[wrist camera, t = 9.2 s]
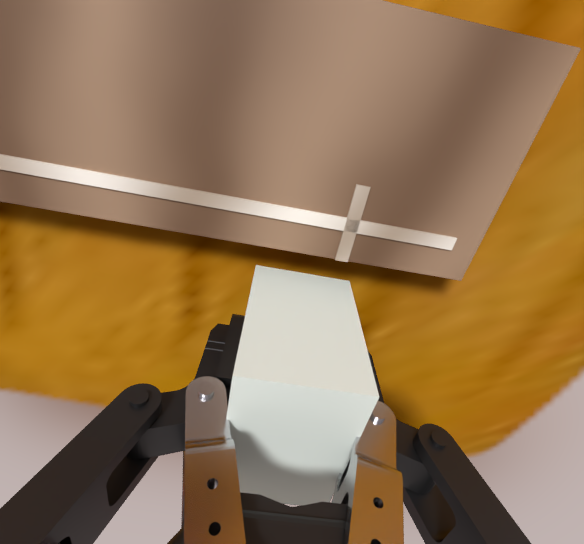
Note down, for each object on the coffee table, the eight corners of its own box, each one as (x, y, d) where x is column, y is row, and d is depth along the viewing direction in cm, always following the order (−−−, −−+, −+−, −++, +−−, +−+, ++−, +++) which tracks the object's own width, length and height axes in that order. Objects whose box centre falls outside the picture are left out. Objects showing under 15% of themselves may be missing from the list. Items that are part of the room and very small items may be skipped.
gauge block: (239, 369, 17) (214, 498, 12) (256, 265, 14) (232, 376, 9) (316, 380, 17) (325, 510, 12) (349, 281, 14) (379, 396, 9)
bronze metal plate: (-77, 165, 14) (-134, 179, 12) (-177, -118, 10) (-286, -162, 8) (442, 257, 15) (462, 281, 14) (537, 52, 12) (583, 48, 10)
